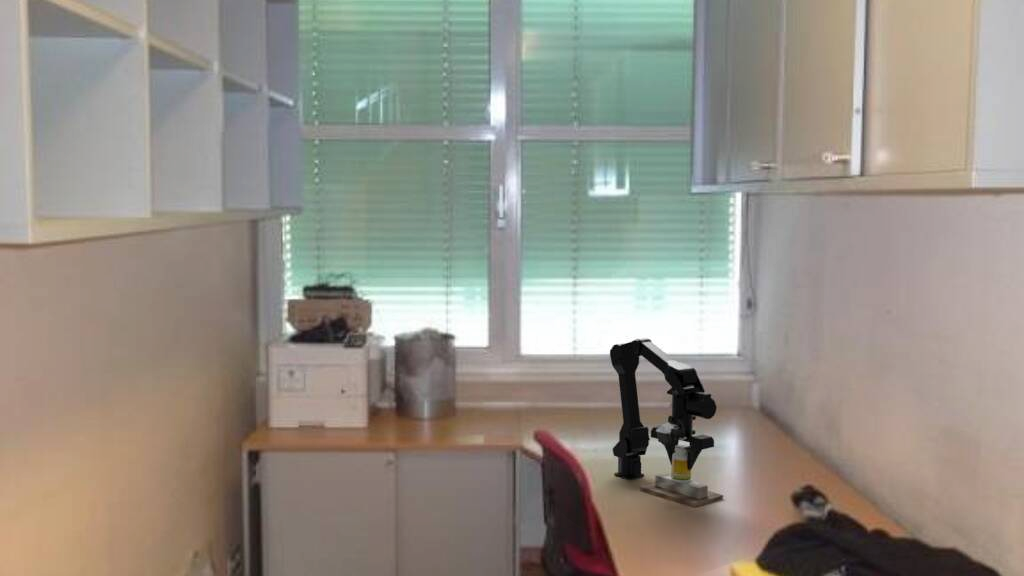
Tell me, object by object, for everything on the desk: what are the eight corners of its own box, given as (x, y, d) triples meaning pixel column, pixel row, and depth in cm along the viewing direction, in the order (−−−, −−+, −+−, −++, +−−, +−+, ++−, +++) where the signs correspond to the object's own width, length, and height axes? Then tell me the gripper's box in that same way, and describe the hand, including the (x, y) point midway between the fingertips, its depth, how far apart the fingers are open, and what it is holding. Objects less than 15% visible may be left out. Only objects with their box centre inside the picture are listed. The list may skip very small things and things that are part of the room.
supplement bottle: (668, 477, 281) (669, 444, 280) (685, 476, 282) (687, 443, 281) (675, 483, 276) (677, 449, 275) (693, 482, 277) (695, 448, 276)
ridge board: (639, 490, 283) (639, 476, 283) (668, 482, 291) (668, 468, 290) (694, 507, 268) (694, 492, 267) (723, 498, 275) (723, 484, 275)
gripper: (637, 410, 279) (636, 465, 281) (688, 422, 265) (687, 480, 266) (664, 405, 286) (663, 458, 288) (716, 416, 272) (714, 472, 273)
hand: (681, 467), depth 279 cm, fingers open, 6 cm apart
